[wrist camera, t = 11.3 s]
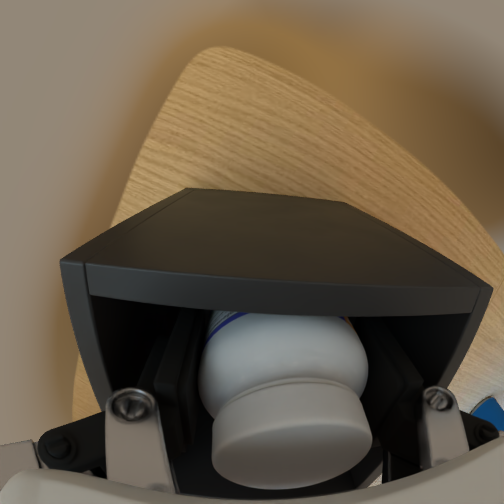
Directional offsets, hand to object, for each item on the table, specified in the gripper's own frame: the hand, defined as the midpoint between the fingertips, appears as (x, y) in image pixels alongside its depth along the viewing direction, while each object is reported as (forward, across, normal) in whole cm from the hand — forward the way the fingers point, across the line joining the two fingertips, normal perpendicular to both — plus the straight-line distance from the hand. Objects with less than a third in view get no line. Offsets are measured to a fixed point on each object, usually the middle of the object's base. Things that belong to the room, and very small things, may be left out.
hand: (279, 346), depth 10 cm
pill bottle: (+5, 0, 0) cm, 5 cm away
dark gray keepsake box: (+12, 0, +2) cm, 12 cm away
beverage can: (+12, -44, +27) cm, 53 cm away
